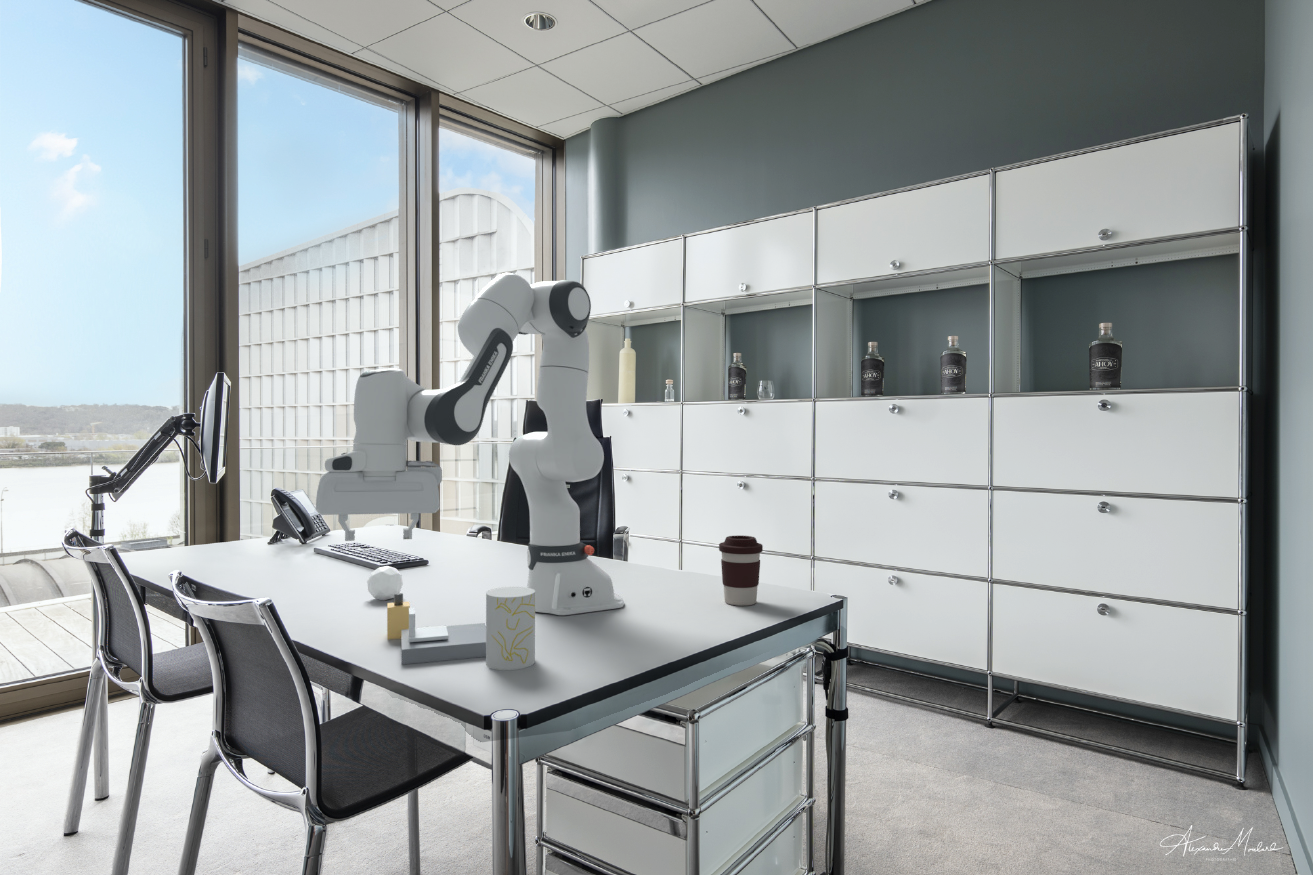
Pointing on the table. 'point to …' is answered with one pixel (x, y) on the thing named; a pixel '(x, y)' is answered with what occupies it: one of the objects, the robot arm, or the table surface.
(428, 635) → the white l-shaped bracket
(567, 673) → the table surface
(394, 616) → the plug
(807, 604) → the table surface
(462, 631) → the socket board
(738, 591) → the coffee cup
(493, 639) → the cup
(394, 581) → the geometric ball
